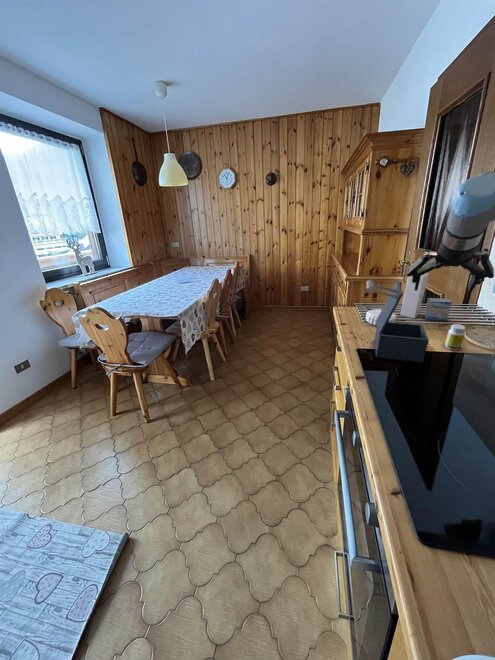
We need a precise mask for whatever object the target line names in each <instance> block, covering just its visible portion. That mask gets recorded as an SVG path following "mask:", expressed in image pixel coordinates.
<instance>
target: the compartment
mask: <svg viewBox="0 0 495 660" xmlns="http://www.w3.org/2000/svg"><path fill="white" fill-rule="evenodd" d="M429 342H430V339H429V336H428V335H427V332H426V331H425V328H424V325H423V324H421V323H407V322H397V321H396V322H388V323H387V325H386V327H385V329H384V330H383V332H382V334H379V330H378V323H377V326H376V328H375V335H374V350H375V357H376V358H378V359H379V358H380V359H389V360H398V361H407V362H415V363H424V360H425V357H426V352H427V349H428V345H429Z"/></svg>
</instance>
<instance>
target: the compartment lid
mask: <svg viewBox="0 0 495 660" xmlns="http://www.w3.org/2000/svg"><path fill="white" fill-rule="evenodd" d="M365 286H366V287H365V288H366V292H367V293H368V294H373V293H377V294H380V295H383V296H387V298H386V301H385V304H383V307H382V308H381V309H382V311H381V313H380V315H379V316H378V318H377V323H378V330H379V334H382V332H383V330H384V329H385V327H386V325H387V323H388V321H389V319H390V318H391V316H392V314H393V313H395V310H396V309H397V307H398V305H399V304H400V303H399V302H400V301H401V299H402V298H403V296H404V292H403V290H402V289H403V288H402V287H401V284H400V282H399V281H396V282H395V284H394V286H393V288H390V287H387V286H384V285H380V284H377V283H374V281H373V280H372V279H367V280H366V282H365ZM375 288H379V289H382V290H384V291H381V290H379V289H375ZM385 290H386V291H388V292H385ZM389 292H390V293H389Z"/></svg>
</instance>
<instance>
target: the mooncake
mask: <svg viewBox="0 0 495 660" xmlns="http://www.w3.org/2000/svg"><path fill="white" fill-rule="evenodd" d="M382 309H383V308H375V309H370V310H368V311H367V312H366V313H365V314H366V315H365V321H366V322H367V323H368V324H370V325H373V326H375V327H377V318H378V316H379V315H380V313H381V311H382ZM388 322H396V323H397V314H396V313H395V312H393V314H392V316H391V318H390V319H389V321H388Z"/></svg>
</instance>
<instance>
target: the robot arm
mask: <svg viewBox="0 0 495 660" xmlns="http://www.w3.org/2000/svg"><path fill="white" fill-rule="evenodd" d="M494 221H495V171H494V170H493V171H492V170H490V171H487V172H483V173H480V174H477V175H475V176H472V177H470V178H468V179H466V180H465V181H463V182H462V183H461V184H460V186H459V187H458V189H457V190H456V193H455V196H454V198H453V200H452V203H451V206H450V211H449V214H448V217H447V222H446V225H445V227H444V232H443V235H442V238H441V241H440V244H439V248H438V249H437V251H436V252H433V251H431V252H430V249H424V251H423V253H422V255H421V256H420V257H418V258H417V259H416V260H415V261H414V262H413V263H412V264H410V265H409V266H408V267H407V268H406V277H407V278H408V277H410V276H413V277H412V283H415V291H417V290H418V286H419V282H420V276H421V275H423V274H426V273H428V274H429V272H431V271H434V270H435V269H436V270H439V269H441V268H442V267H444V268H445V267H446V268H447V267H454V268H455V267H456V268H459V267H461V268H462V269H464V270H467V271H469V272H470V274H472V276H471V278H470V281H469V282H468V284H467V293H468V294H471V293H472V292H473V291H474V289H475V287H476V285H481V283H483V282H485V281H486V280H485V279H486V278H488V279H494V278H495V268H494V267H493V264H492V262H491V260H490V257H489V249H488V248H483V249H482V250H481V251H476V250H477V248H478V246H479V243H480V242H481V240H482V238H483V236H484V233H485V231H486V229H487V227H488V225H489V223H491V222H494ZM475 258H476V259H477V260H478V262H480V264H481V266H480V265H479V264H477V262H476V261H474V259H475Z"/></svg>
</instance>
